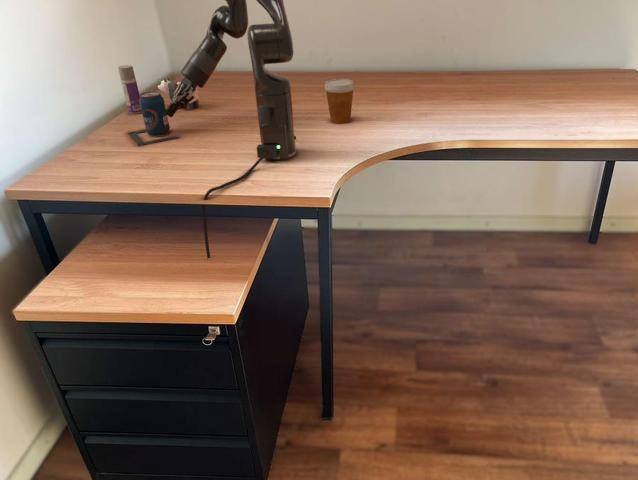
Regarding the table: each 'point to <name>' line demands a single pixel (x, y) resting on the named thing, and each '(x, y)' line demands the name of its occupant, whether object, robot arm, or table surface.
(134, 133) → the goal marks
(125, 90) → the container
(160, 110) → the soda can
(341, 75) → the table surface
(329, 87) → the disposable coffee cup
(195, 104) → the giant panda
